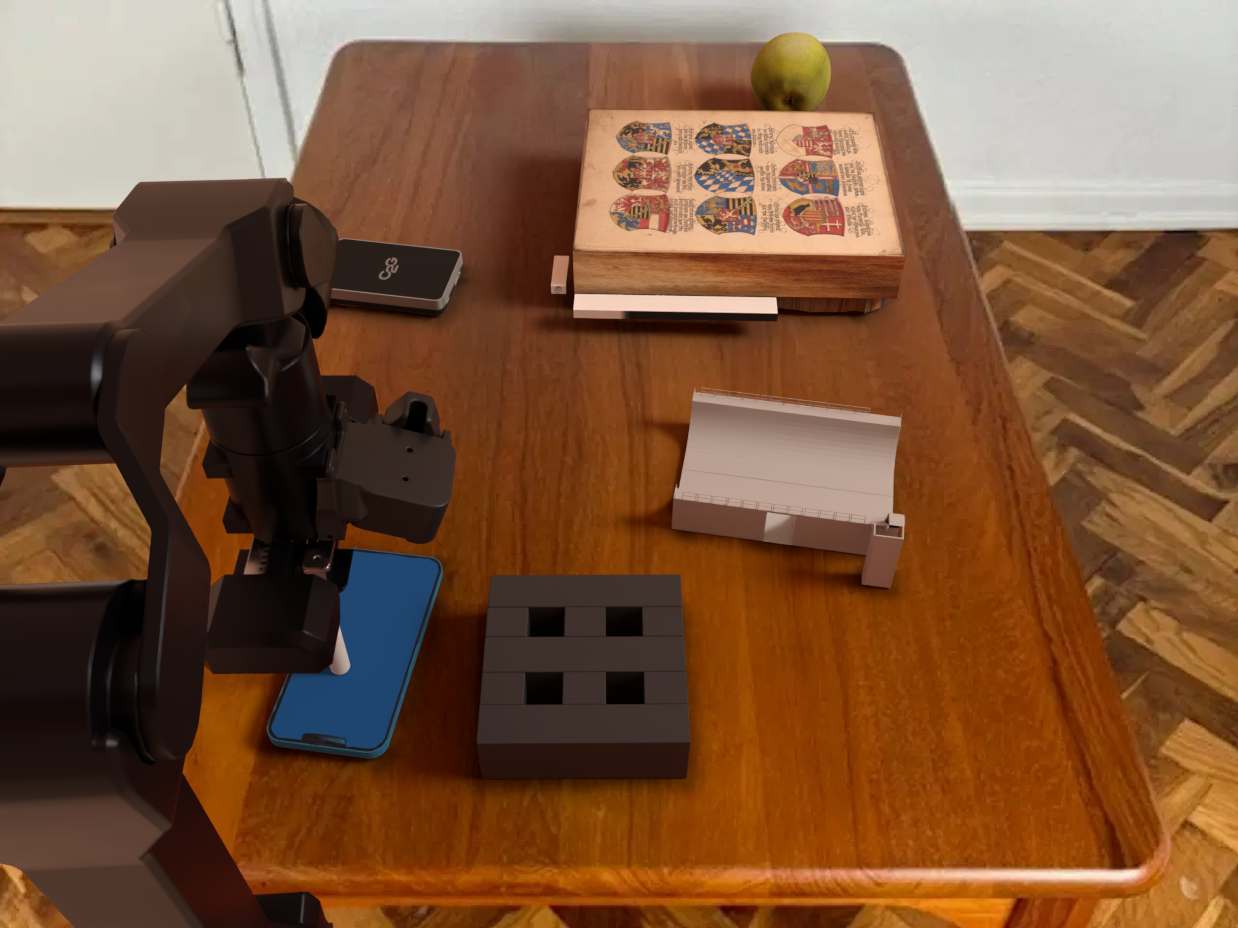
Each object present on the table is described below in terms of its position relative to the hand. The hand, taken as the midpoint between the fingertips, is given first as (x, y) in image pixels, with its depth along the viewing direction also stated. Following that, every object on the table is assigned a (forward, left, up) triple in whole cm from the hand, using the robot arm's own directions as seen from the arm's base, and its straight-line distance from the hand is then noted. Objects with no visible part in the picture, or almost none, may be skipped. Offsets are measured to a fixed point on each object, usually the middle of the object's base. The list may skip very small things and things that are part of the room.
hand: (323, 608), depth 69 cm
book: (+51, -5, -7) cm, 52 cm away
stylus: (0, 0, -6) cm, 6 cm away
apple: (+75, -3, -7) cm, 76 cm away
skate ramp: (+25, -20, -7) cm, 33 cm away
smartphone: (+2, 0, -7) cm, 7 cm away
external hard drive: (+34, +18, -7) cm, 39 cm away
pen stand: (+5, -14, -7) cm, 17 cm away
